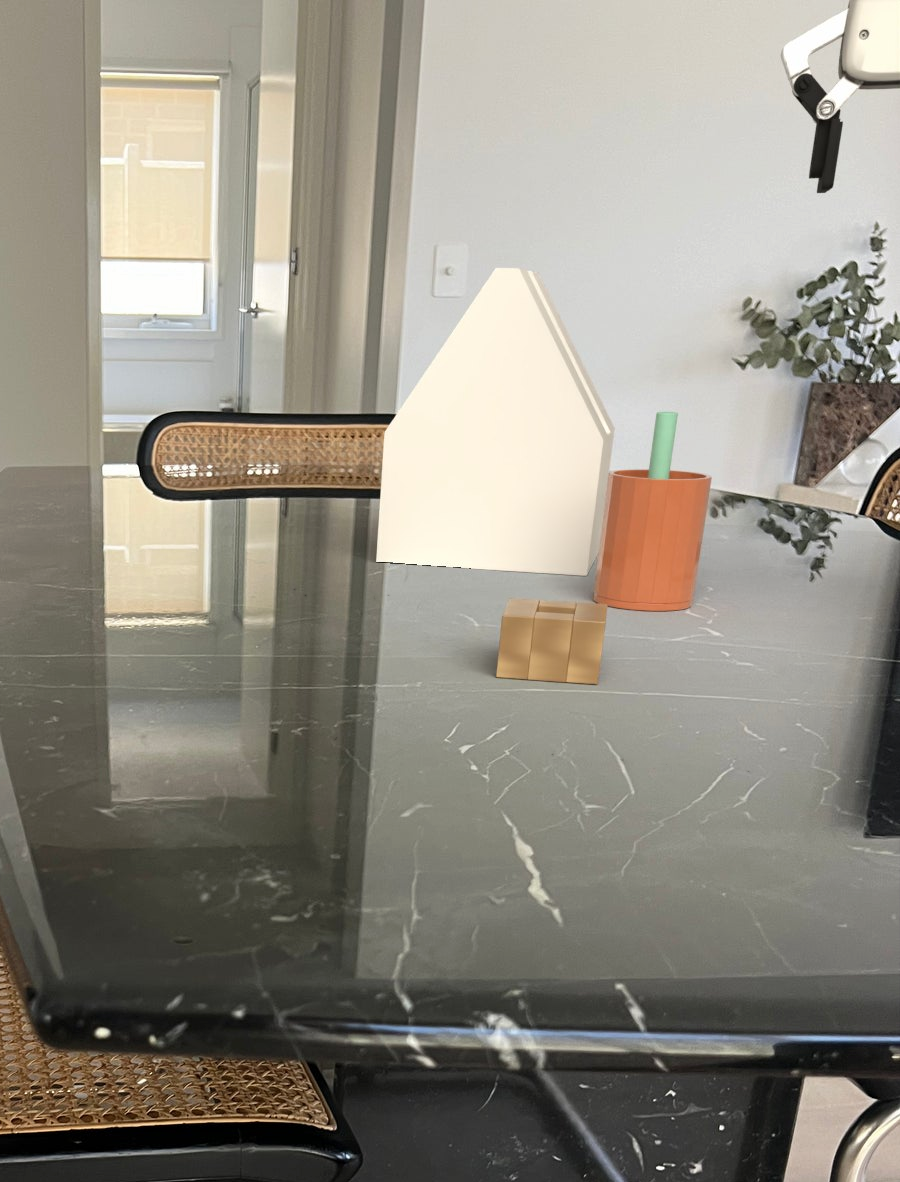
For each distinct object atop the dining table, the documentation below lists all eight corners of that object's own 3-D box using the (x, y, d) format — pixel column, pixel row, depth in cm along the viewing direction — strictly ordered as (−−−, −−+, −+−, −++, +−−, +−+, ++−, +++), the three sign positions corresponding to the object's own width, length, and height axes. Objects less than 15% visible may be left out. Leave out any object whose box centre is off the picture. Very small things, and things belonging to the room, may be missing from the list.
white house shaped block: (376, 562, 137) (395, 267, 127) (406, 540, 150) (426, 271, 140) (586, 575, 131) (624, 268, 121) (599, 551, 145) (634, 272, 135)
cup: (690, 596, 122) (709, 471, 118) (693, 613, 116) (713, 481, 111) (594, 591, 124) (609, 467, 120) (591, 607, 117) (608, 477, 113)
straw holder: (599, 663, 99) (607, 603, 97) (597, 684, 93) (605, 621, 92) (503, 657, 100) (509, 598, 99) (495, 677, 95) (502, 615, 93)
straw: (652, 593, 120) (677, 412, 114) (652, 596, 119) (678, 413, 113) (632, 592, 121) (656, 411, 115) (631, 595, 119) (656, 412, 113)
